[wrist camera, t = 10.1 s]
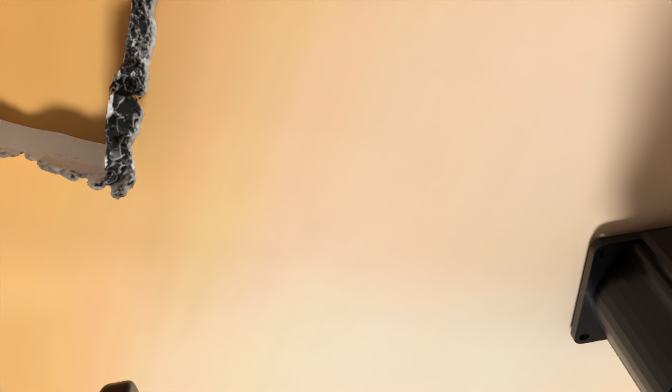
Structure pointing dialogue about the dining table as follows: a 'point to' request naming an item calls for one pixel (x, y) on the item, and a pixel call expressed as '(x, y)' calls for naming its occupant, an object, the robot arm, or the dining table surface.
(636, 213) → the dining table surface
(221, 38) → the dining table surface
